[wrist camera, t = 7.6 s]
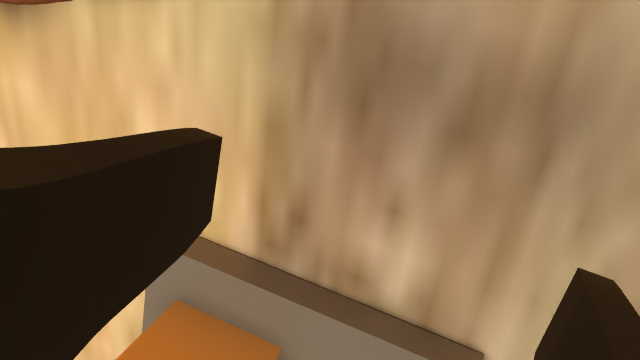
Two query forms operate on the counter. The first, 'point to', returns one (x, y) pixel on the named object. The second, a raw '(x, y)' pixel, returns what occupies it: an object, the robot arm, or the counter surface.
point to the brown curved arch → (31, 1)
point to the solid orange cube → (197, 339)
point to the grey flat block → (289, 311)
